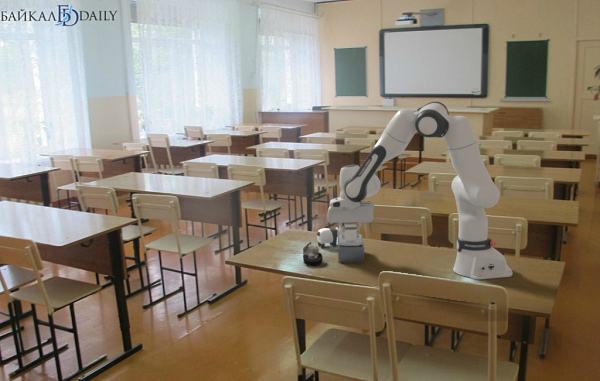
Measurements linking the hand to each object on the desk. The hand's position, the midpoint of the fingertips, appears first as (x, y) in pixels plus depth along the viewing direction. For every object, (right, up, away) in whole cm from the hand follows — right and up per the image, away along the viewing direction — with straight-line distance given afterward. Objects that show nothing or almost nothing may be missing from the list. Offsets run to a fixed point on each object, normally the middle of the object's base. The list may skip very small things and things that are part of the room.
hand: (350, 232), depth 237 cm
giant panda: (-8, -8, +19) cm, 22 cm away
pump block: (0, -3, +1) cm, 3 cm away
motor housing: (0, -11, +3) cm, 12 cm away
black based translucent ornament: (-16, -13, -2) cm, 21 cm away
